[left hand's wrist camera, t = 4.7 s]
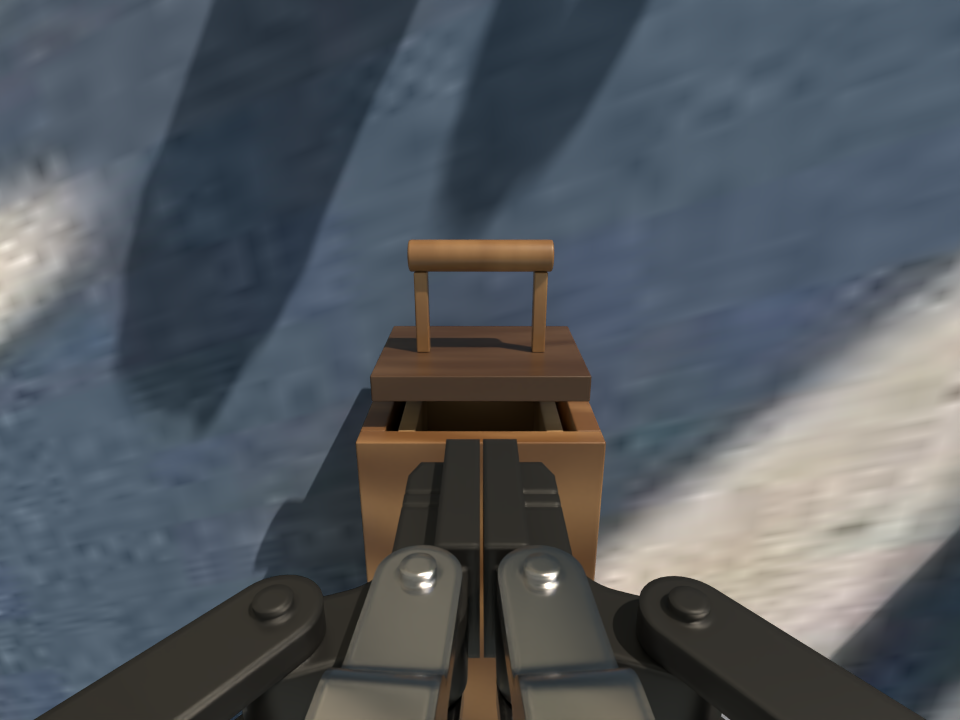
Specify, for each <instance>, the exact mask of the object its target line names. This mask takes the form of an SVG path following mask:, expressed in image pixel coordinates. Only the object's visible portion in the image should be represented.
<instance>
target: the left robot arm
mask: <svg viewBox="0 0 960 720" xmlns="http://www.w3.org/2000/svg"><path fill="white" fill-rule="evenodd" d="M483 617H484V658H496V707H497V716H498V720H725V719H724V718H722V717H721V714H722V713H723V714H724V715H725V716H726V717H728V718H729V719H730V720H926V719H924V718H922V717H921V716H919V715H918V714H916V713H914V712H913V711H911V710H910V709H908V708H906V707H905V706H903V705H902V704H900V703H898V702H897V701H895V700H893V699H892V698H890V697H889V696H887V695H885V694H884V693H882V692H881V691H879V690H877V689H876V688H874V687H873V686H871V685H869V684H868V683H866V682H864V681H863V680H861V679H860V678H858V677H856V676H855V675H853V674H852V673H850V672H848V671H847V670H845V669H844V668H842V667H840V666H839V665H837V664H835V663H834V662H832V661H831V660H829V659H827V658H826V657H824V656H823V655H821V654H819V653H818V652H816V651H815V650H813V649H811V648H810V647H808V646H807V645H805V644H803V643H802V642H800V641H798V640H797V639H795V638H794V637H792V636H790V635H789V634H787V633H786V632H784V631H782V630H781V629H779V628H778V627H776V626H774V625H773V624H771V623H769V622H768V621H766V620H765V619H763V618H761V617H760V616H758V615H757V614H755V613H753V612H752V611H750V610H749V609H747V608H745V607H744V606H742V605H740V604H739V603H737V602H736V601H734V600H732V599H731V598H729V597H728V596H726V595H724V594H723V593H721V592H720V591H718V590H716V589H715V588H713V587H711V586H709V585H707V584H705V583H703V582H701V581H698V580H695V579H691V578H686V577H679V576H667V577H661V578H658V579H655V580H653V581H651V582H649V583H648V584H647V585H646V586H645V587H644V588H643V589H642V591H641V593H640V596H638V595H633V594H629V593H625V592H621V591H617V590H614V589H610V588H607V587H605V586H603V585H600V584H598V583H597V582H595V581H593V580H592V579H590V578H589V577H587V576H586V574H585V571H584V569H583V567H582V565H581V564H580V563H579V561H578V560H577V559H576V558H574V557H573V555H572V551H571V546H570V542H569V537H568V533H567V528H566V524H565V519H564V515H563V511H562V507H561V502H560V497H559V494H558V488H557V484H556V479H555V475H554V474H553V473H552V472H551V471H550V470H549V469H548V468H547V467H546V466H545V465H544V464H543V463H542V462H519V454H518V446H517V439H483ZM468 658H480V439H446V446H445V455H444V462H421V463H420V464H419V465H418V466H417V467H416V468H415V469H414V470H413V471H412V472H411V473H410V474H409V475H408V480H407V484H406V489H405V494H404V498H403V503H402V508H401V512H400V517H399V522H398V527H397V531H396V536H395V541H394V545H393V550H392V553H391V554H390V555H388V556H387V557H386V558H384V559H383V560H382V561H381V563H380V564H379V565H378V567H377V569H376V571H375V574H374V577H373V580H371V581H370V582H368V583H366V584H364V585H362V586H360V587H357V588H355V589H351V590H348V591H344V592H340V593H336V594H332V595H328V596H323V595H322V592H321V589H320V588H319V586H318V585H317V584H316V583H315V582H313V581H312V580H310V579H308V578H305V577H302V576H297V575H279V576H274V577H270V578H266V579H263V580H261V581H258V582H256V583H254V584H252V585H250V586H249V587H247V588H245V589H244V590H242V591H240V592H239V593H237V594H236V595H234V596H232V597H231V598H229V599H228V600H226V601H224V602H223V603H221V604H220V605H218V606H216V607H215V608H213V609H211V610H210V611H208V612H207V613H205V614H203V615H202V616H200V617H199V618H197V619H195V620H194V621H192V622H191V623H189V624H187V625H186V626H184V627H183V628H181V629H179V630H178V631H176V632H174V633H173V634H171V635H170V636H168V637H166V638H165V639H163V640H162V641H160V642H158V643H157V644H155V645H154V646H152V647H150V648H149V649H147V650H145V651H144V652H142V653H141V654H139V655H137V656H136V657H134V658H133V659H131V660H129V661H128V662H126V663H125V664H123V665H121V666H120V667H118V668H116V669H115V670H113V671H112V672H110V673H108V674H107V675H105V676H104V677H102V678H100V679H99V680H97V681H96V682H94V683H92V684H91V685H89V686H87V687H86V688H84V689H83V690H81V691H79V692H78V693H76V694H75V695H73V696H71V697H70V698H68V699H67V700H65V701H63V702H62V703H60V704H58V705H57V706H55V707H54V708H52V709H50V710H49V711H47V712H46V713H44V714H42V715H41V716H39V717H38V718H36V719H34V720H230V719H231V718H232V717H234V716H235V715H236V714H238V713H239V712H240V711H241V710H242V712H243V714H242V715H240V716H239V717H238V718H236V719H235V720H462V716H463V707H464V690H465V688H466V685H467V679H468Z"/></svg>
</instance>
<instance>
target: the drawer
mask: <svg viewBox="0 0 960 720" xmlns="http://www.w3.org/2000/svg"><path fill="white" fill-rule="evenodd" d="M407 254H408V267H409V270H410V271H411V272H414V291H415V316H416V326H394V327H393V329H392V332H391V334H390V336H389V338H388V340H387V342H386V344H385V346H384V348H383V351H382V353H381V355H380V357H379V359H378V361H377V363H376V365H375V367H374V370H373V372H372V374H371V376H370V383H371V397H372V401H407V402H406V405H405V409H404V412H403V416H402V419H401V423H400V426H399V430H398V431H563V429H562V425H561V422H560V418H559V415H558V411H557V408H556V404H555V402H588V401H589V400H590V390H591V375H590V373H589V371H588V369H587V367H586V364H585V362H584V360H583V358H582V356H581V354H580V352H579V350H578V347H577V345H576V343H575V341H574V339H573V337H572V335H571V333H570V331H569V328H568V327H567V326H546V305H547V281H548V273H547V272H550V271H552V269H553V264H554V244H553V241H552V240H409V242H408V252H407ZM428 272H533V301H532V326H430V317H429V285H428Z"/></svg>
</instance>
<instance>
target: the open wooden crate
mask: <svg viewBox="0 0 960 720" xmlns="http://www.w3.org/2000/svg"><path fill="white" fill-rule="evenodd" d="M406 402H407V401H373V402H372V405H371V407H370V410H369V412H368V414H367V417H366V419H365V422H364V424H363V426H362V429H361V432H360V434H359V436H358V439H357V441H356V454H357V466H358V478H359V490H360V501H361V513H362V525H363V537H364V549H365V561H366V573H367V583H368V582H370V581H371V580H373V577H374V574H375V571H376V569H377V567H378V565H379V564H380V563H381V561H382V560H383V559H384V558H386V557H387V556H388V555H390V554H391V553H392V550H393V545H394V541H395V536H396V531H397V527H398V522H399V517H400V512H401V508H402V503H403V498H404V494H405V489H406V484H407V480H408V475H409V474H410V473H411V472H412V471H413V470H414V469H415V468H416V467H417V466H418V465H419V464H420V463H421V462H444V455H445V446H446V439H480V658H468V679H467V685H466V688H465V690H464V707H463V716H462V720H498V716H497V707H496V658H484V617H483V439H517V446H518V454H519V462H542V463H543V464H544V465H545V466H546V467H547V468H548V469H549V470H550V471H551V472H552V473H553V474H554V475H555V479H556V484H557V488H558V494H559V497H560V502H561V507H562V511H563V515H564V519H565V524H566V528H567V533H568V537H569V542H570V546H571V551H572V555H573V557H574V558H576V559H577V560H578V561H579V563H580V564H581V565H582V567H583V569H584V571H585V574H586V576H587V577H589V578H590V579H592V580H593V581H594V576H595V564H596V552H597V541H598V529H599V517H600V506H601V494H602V482H603V471H604V459H605V447H606V443H605V440H604V438H603V435H602V433H601V431H600V428H599V426H598V423H597V421H596V418H595V416H594V414H593V411H592V409H591V406H590V404H589V402H555V404H556V408H557V411H558V415H559V418H560V422H561V425H562V429H563V431H398V430H399V426H400V423H401V419H402V416H403V412H404V409H405V405H406Z"/></svg>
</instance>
